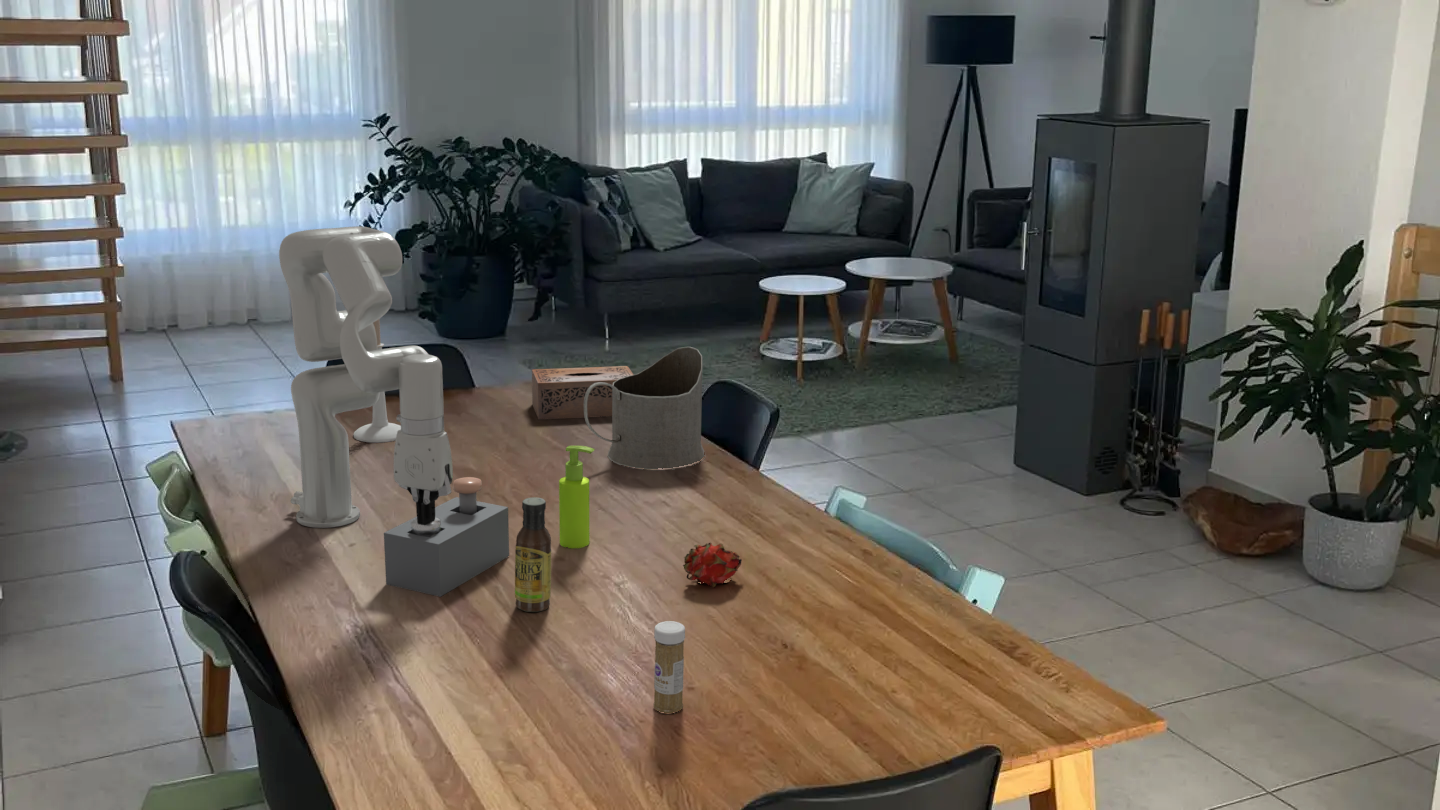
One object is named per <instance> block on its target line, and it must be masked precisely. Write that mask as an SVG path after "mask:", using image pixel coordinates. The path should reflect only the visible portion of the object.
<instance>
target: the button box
mask: <svg viewBox="0 0 1440 810" xmlns="http://www.w3.org/2000/svg"><path fill="white" fill-rule="evenodd" d="M416 518H417V516H415V517H413V518H410V519H409V520H407V521H405V522H403V523H401V524H398V525H396V526H394V527H393V528H391V529H388V530H386V531H384V532H383V543H384V546H383V547H384V565H385V566H384V568H385V569H384V570H385V584H386V585H388V586H392V587H395V588H401V589H406V590H409V591H414V592H419V593H423V594H426V595H432V596H435V597H436V596H437V597H442V596H444V595H446V594H447V593H449V592H451V591H453V590H454V589H456V588H457V587H460V586H461V585H463V584H464V583H466V582H468V581H469V580H471V579H473V578H474V577H476V576H478V575H480V574H481V573H483V572H484V571H486V570H488V569H490V568H492V567H493V566H495V565H497V564H498V563H501V562H502V561H503V560H505V559H507V558H509V557H510V539H509V538H510V532H509V507H508V506H503V505H498V504H494V503H489V502H484V501H483V502H482V501H479V500H477V513H475V514H473V515H468V514H463V513H460V506H459V497H458V496H455V497H453V498H452V499H449V500H447V501H444V502H443V503H441V504H439V505H437V506H435V518H438V519H440V521H441V530H440V531H439V532H437V533H435V535H433V536H431V537H425V536H420V535H417V534H415V533H413V532H412V529H411V522H412V520H414V519H416ZM508 556H509V557H508Z"/></svg>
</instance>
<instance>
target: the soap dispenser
mask: <svg viewBox="0 0 1440 810" xmlns="http://www.w3.org/2000/svg"><path fill="white" fill-rule="evenodd" d="M565 451H566V452H569V460H568V461H566V462H565V466H564V467H565V476H564V477H561V478H560V479H559V480H558V495H559V497H558V501H559V503H558V505H559V506H558V507H559V508H558V510H559V511H558V513H559V545H560V546H561V547H563V548H566V547H568V548H567V549H582V548H585V546H586V547H587V546H589V545H590V478H588V477H586V476H584V470H583V469H584V463H583V462H582V461H581V460H579V453H586V454H592V453H593V452H594V451H595V448H593V447H590V446H585V445H567V447H566V448H565Z"/></svg>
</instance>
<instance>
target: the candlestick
mask: <svg viewBox="0 0 1440 810" xmlns="http://www.w3.org/2000/svg"><path fill="white" fill-rule="evenodd" d="M380 319H381V318H380ZM380 319H378V320H377V321H375V322H373V324H374V327H375V331H376V338H377V348H378V350H380V349H383V347H384V346H385V343H383V342H382V343H381V322H380ZM385 394H386V391H384V392H380V395H379V399H378V401H377V402H376V403H375V404H374V405H373V406H372V420H371V423H368V424H365V425H362V426H360V427H359V428H357V429H356V430H355V431H354V432H353V438H354V439H355V440H357V441H360V442H363V443H364V442H366V443H374V444H375V443H380V444H381V443H389V442H395V441H396V436H397V431H398V430H401V424H396V423H394V422H389V420H388V416H387V415H388V413H387V406H386V405H387V403H386V395H385Z"/></svg>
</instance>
